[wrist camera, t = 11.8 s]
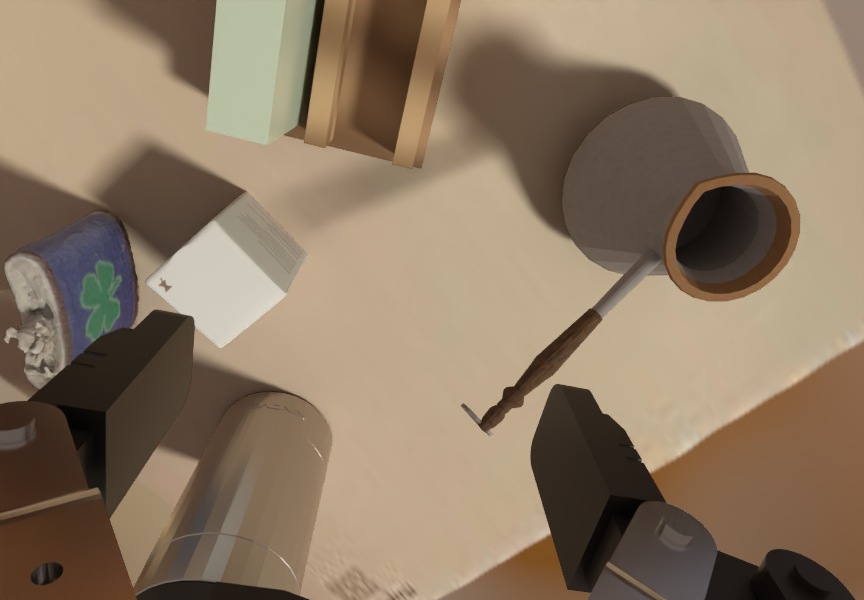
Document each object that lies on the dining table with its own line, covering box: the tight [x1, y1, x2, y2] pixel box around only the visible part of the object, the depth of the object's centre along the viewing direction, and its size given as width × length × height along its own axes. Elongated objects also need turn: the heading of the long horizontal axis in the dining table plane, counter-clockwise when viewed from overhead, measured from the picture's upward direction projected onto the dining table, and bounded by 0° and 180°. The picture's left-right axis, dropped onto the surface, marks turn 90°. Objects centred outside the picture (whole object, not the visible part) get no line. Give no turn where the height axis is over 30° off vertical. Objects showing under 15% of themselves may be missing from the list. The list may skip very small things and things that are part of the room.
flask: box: [4, 211, 139, 390], centre depth 35 cm, size 9×3×11 cm, turn 174°
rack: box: [284, 0, 461, 169], centre depth 32 cm, size 13×13×4 cm
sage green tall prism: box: [206, 0, 325, 145], centre depth 28 cm, size 3×9×10 cm, turn 166°
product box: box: [145, 192, 308, 348], centre depth 36 cm, size 6×6×7 cm
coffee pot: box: [461, 97, 800, 436], centre depth 32 cm, size 21×12×15 cm, turn 128°
